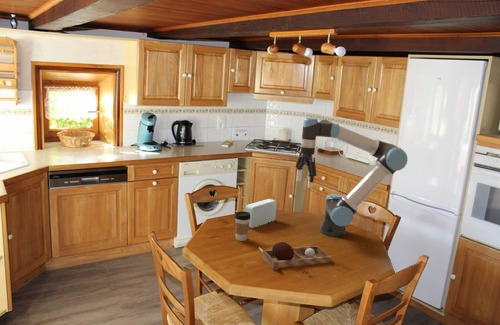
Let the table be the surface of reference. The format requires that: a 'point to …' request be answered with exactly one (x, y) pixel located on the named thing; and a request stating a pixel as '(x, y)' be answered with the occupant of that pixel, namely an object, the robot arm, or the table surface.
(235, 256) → the table surface
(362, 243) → the table surface
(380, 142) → the robot arm
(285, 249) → the dark brown ovoid
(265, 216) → the white rounded block
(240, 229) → the coffee cup
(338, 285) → the table surface
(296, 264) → the divided wooden tray
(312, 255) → the ball
